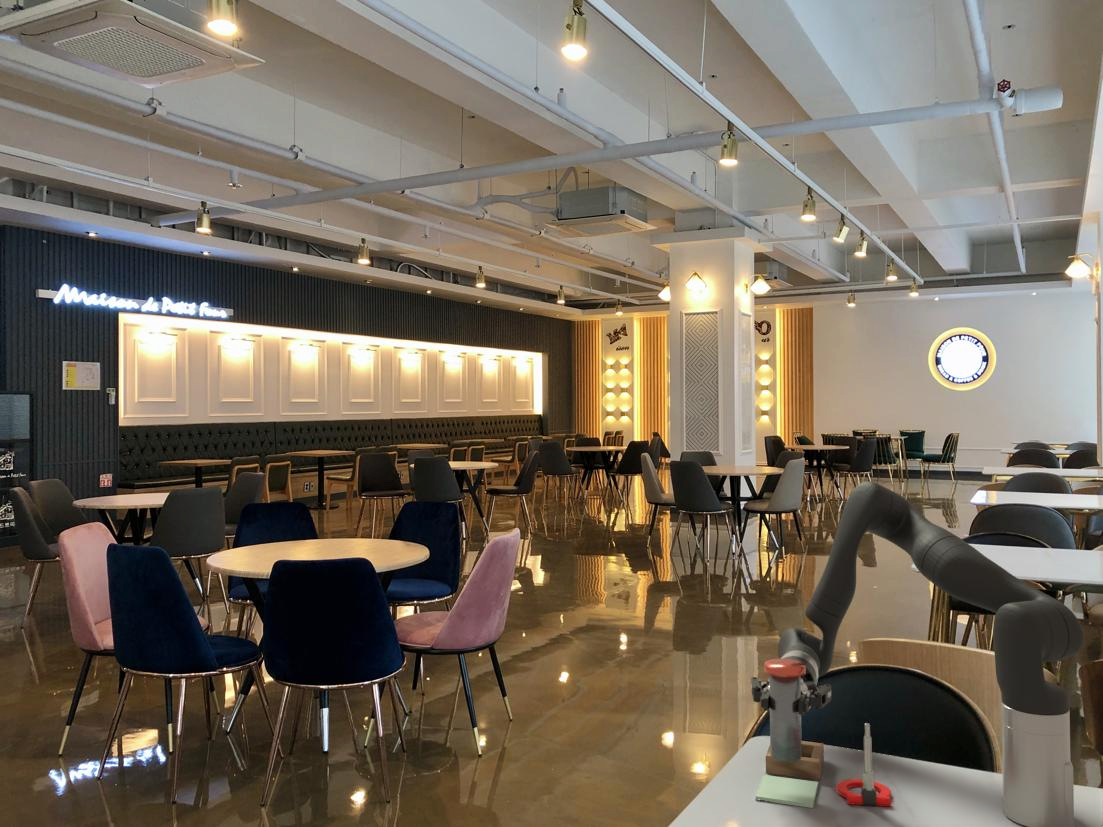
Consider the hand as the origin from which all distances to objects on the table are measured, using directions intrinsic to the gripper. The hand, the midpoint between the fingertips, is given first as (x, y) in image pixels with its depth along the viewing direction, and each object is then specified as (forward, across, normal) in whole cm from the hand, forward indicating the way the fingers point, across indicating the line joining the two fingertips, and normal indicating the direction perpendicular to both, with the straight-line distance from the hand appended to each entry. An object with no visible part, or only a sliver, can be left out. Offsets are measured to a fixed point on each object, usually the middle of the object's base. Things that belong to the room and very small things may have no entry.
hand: (783, 706), depth 146 cm
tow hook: (-6, +12, +15) cm, 20 cm away
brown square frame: (-14, 0, +15) cm, 20 cm away
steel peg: (-3, 0, +9) cm, 9 cm away
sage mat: (-2, 0, +15) cm, 15 cm away
